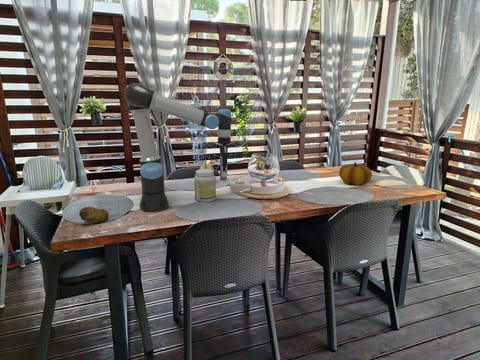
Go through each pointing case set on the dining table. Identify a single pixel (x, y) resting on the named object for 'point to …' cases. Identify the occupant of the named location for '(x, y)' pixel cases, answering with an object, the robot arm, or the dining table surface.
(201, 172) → the supplement tub
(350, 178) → the decorative pumpkin
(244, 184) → the socket block
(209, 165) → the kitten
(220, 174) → the peg
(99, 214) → the potato
